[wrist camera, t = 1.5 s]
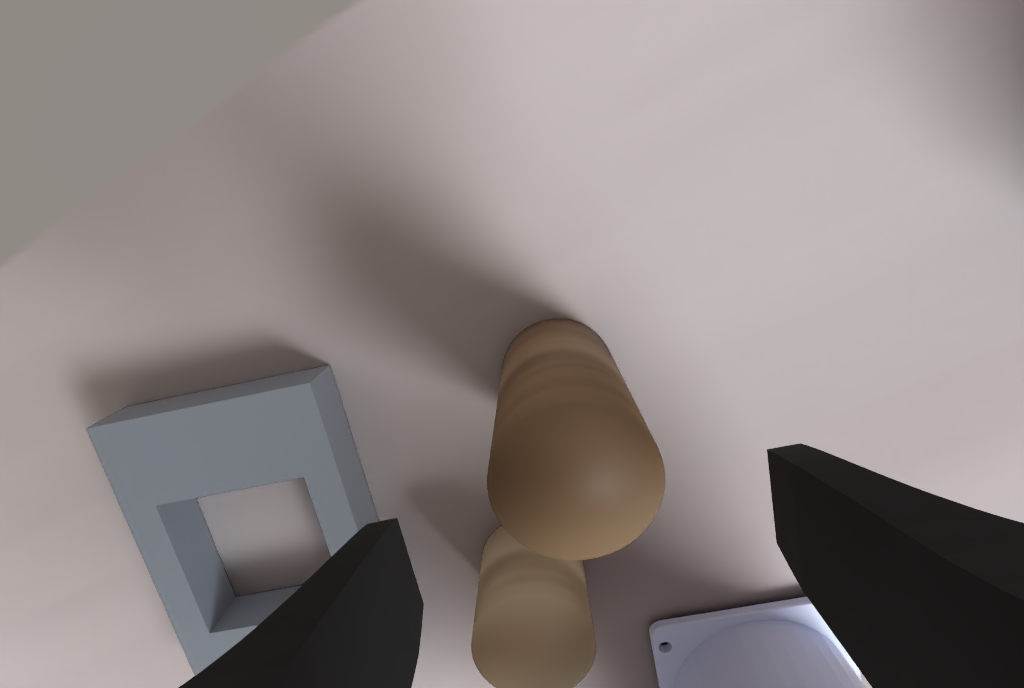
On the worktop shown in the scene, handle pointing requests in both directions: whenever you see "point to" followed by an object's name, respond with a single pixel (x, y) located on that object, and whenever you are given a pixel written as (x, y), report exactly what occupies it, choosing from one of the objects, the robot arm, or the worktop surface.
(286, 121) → the worktop surface
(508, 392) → the long dowel
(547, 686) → the short dowel
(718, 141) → the worktop surface
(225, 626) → the board
